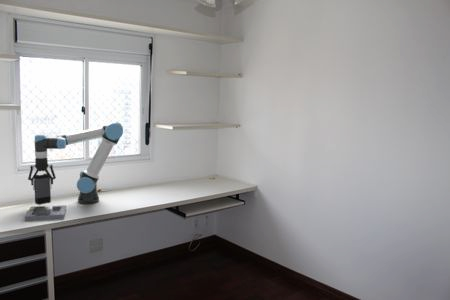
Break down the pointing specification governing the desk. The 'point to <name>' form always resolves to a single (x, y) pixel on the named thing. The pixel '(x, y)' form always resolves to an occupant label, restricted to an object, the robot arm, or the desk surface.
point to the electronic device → (42, 189)
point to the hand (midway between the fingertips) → (42, 189)
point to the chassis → (45, 213)
